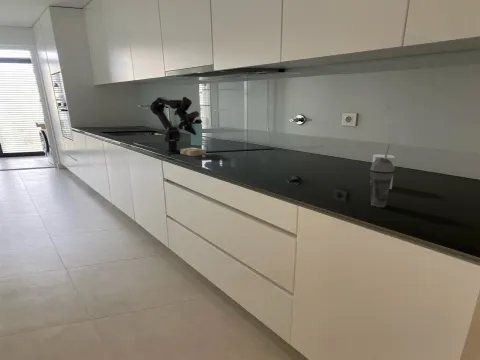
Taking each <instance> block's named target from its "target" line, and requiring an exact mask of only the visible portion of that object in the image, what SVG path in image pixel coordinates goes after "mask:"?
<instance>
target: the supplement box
mask: <svg viewBox="0 0 480 360" xmlns="http://www.w3.org/2000/svg"><path fill="white" fill-rule="evenodd" d="M379 158H385V154H377V153H376V154H373V155H372V163H373V162H374V161H375V160H377V159H379ZM386 159H388V160H390V161H391V162H392V164H393V166H394V167H395V164H396V157H395V156H394V155H392V154H387V158H386ZM393 179H394V176H393V177H392V179H391V184H390V189H391V190H392V189H393Z"/></svg>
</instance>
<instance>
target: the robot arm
mask: <svg viewBox="0 0 480 360" xmlns="http://www.w3.org/2000/svg"><path fill="white" fill-rule="evenodd" d="M192 104H193V101H192V100H191V99H189V98H187V96H183V97H182V99H171V98H167V97H164V96H162V97H161V96H159V97H157V98H156V99H155V100H153V101H152V103H151V105H150V107H149V109H150V111H151V112H152V114H154V115H155V116H157V117H158V119H159V121H160V123H161V124H162V126H163V128H164V129H165V137H164V139H163V140H164V142H165V143H167V149H166V151H167V152H177V151H179V152H180V149H178V142H180V138H181V132H180V130H183V131H186V132H188V133H189V134H191V133H192V134H194V135H196V133H195V131H194V129H193V128H192V124H202V123H203V121H202V119H200V118H198V117H199V116H200V112H199V111H198V110H195V111H192V112H190V113H188V112H187V111H189V109H190V107H191V105H192ZM166 106H169V107H170V108H171V109H172V110H174V113H173V114H174V116H178V118H179V124H178V125H177V127H176V126H172V123H171V122H170V120H169V118H168V117H167V116H166V113H165V108H166ZM197 118H198V119H197ZM178 129H179V130H178Z"/></svg>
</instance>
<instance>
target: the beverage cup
mask: <svg viewBox="0 0 480 360" xmlns="http://www.w3.org/2000/svg"><path fill="white" fill-rule="evenodd" d="M389 150H390V144H387V146H386V151H385V154H384V155H385V158H379V159H377V160H375V161H374V162H373V161H372V163H371V166H370V169H369V175H370V183H371V184H370V206H372V205H373V206H372V207H374V206H376V207H375V208H385V206H387V202H388V198H389V194H390V193H389V192H390V190H389V189H390V184H391V179H392V177H393V178H394V173H395V165H394V166H393V164H392V162H391V161H390V160H388V159H386V158H387V155H389V153H388V152H389Z"/></svg>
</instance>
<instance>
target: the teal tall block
mask: <svg viewBox="0 0 480 360" xmlns="http://www.w3.org/2000/svg"><path fill="white" fill-rule="evenodd" d="M192 128H193V129H194V131H195V133H196V135H194V134H192V133H190V145H191V146H202V145H203V124H202V123H201V124H192Z"/></svg>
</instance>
